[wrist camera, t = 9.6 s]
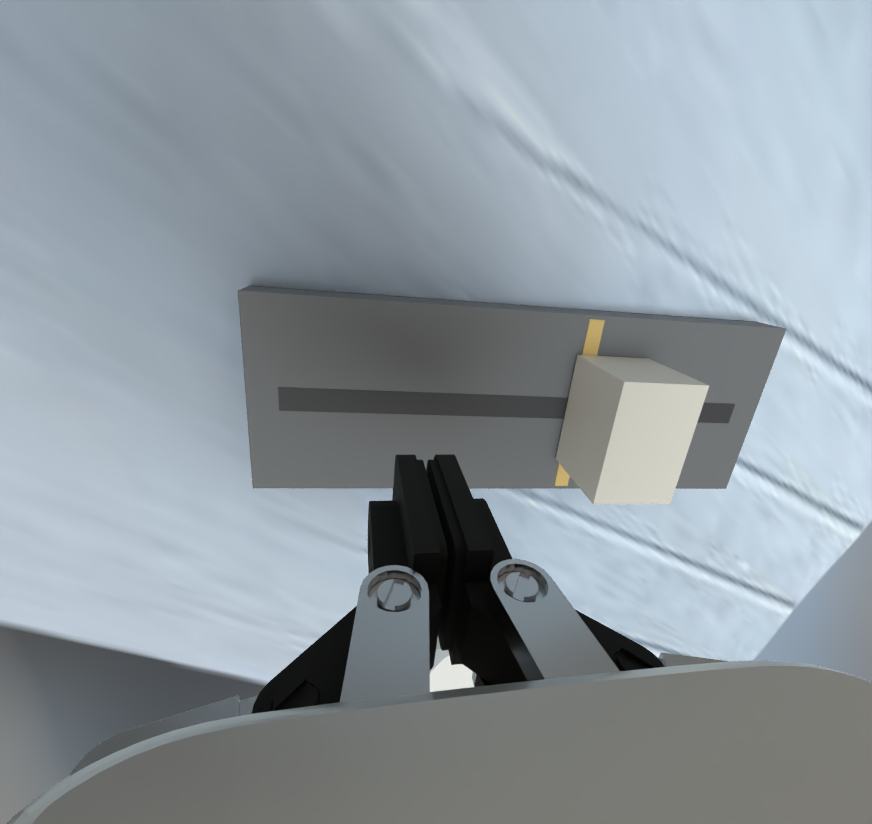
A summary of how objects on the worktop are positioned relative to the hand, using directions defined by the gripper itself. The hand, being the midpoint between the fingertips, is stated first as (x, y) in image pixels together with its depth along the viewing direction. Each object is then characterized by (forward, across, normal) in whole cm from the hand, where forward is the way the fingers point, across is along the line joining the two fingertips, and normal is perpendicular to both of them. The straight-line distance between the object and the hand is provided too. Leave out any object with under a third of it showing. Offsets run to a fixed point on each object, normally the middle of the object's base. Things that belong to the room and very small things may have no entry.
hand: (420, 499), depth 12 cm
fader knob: (+10, -11, +1) cm, 15 cm away
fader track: (+12, -7, +1) cm, 14 cm away
